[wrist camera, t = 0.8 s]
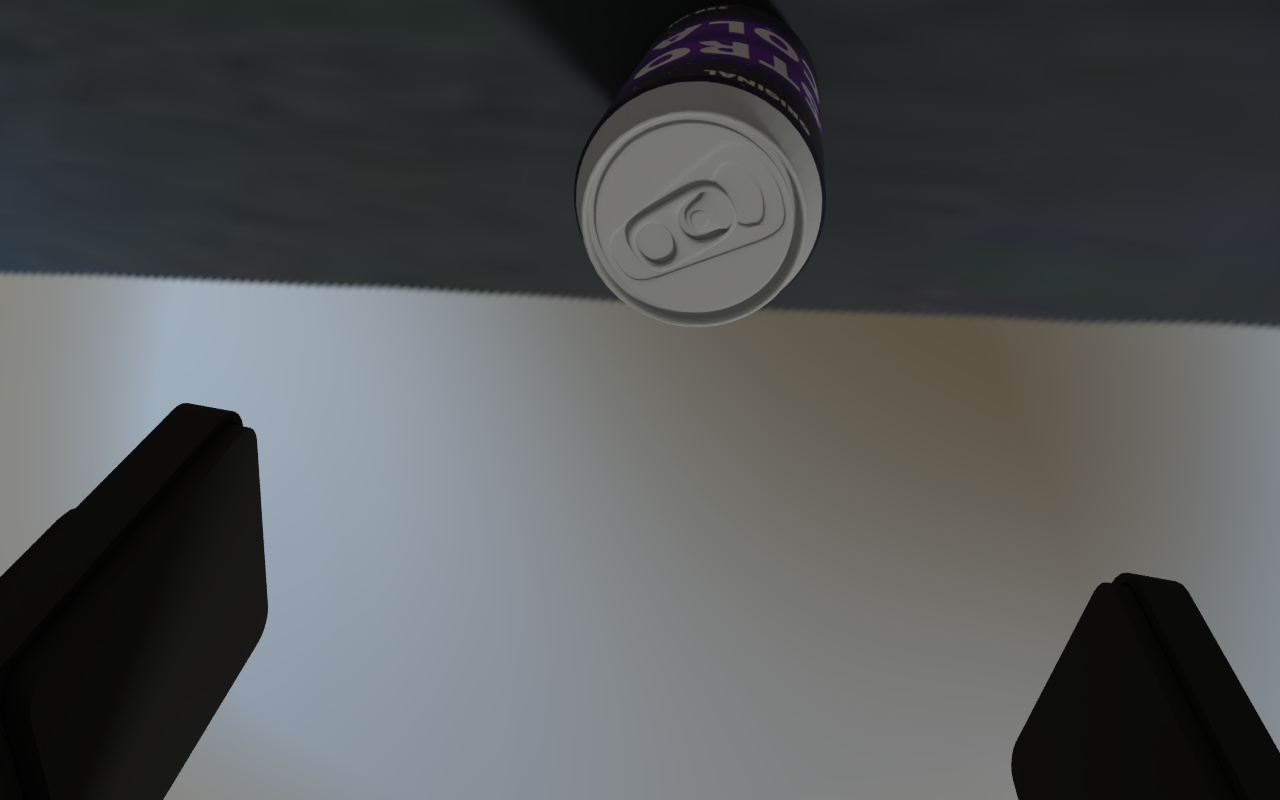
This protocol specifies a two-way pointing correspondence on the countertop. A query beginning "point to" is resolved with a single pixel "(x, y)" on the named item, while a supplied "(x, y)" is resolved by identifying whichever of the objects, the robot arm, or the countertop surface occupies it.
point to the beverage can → (707, 170)
